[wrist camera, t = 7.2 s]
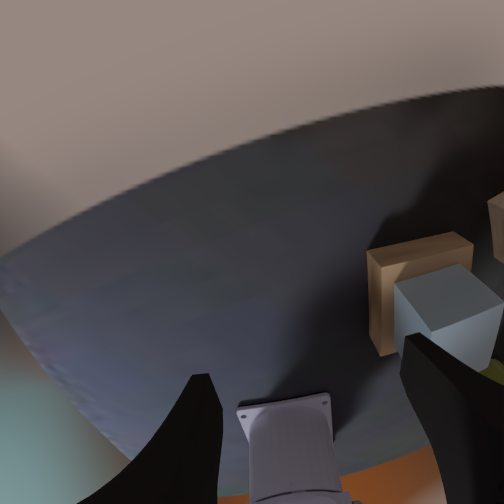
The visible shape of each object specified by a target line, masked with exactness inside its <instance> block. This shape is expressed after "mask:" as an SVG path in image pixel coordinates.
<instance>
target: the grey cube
mask: <svg viewBox="0 0 504 504" xmlns="http://www.w3.org/2000/svg"><path fill="white" fill-rule="evenodd" d="M503 308H504V301H503V300H502V299H501V298H499V297H498V296H497V295H496V294H495V293H494V292H493V291H492V290H491V289H489V288H488V287H487V286H486V285H485V284H484V283H483V282H481V281H480V280H479V279H478V278H477V277H476V276H474V275H473V274H472V273H471V272H470V271H468V270H467V269H466V268H465V267H464V266H462V265H461V264H460V263H459V264H456V265H452V266H449V267H446V268H443V269H440V270H436V271H433V272H430V273H427V274H423V275H420V276H417V277H413V278H410V279H406V280H403V281H399V282H396V283H394V346H395V348H396V350H397V352H398V353H399V355H400V357H401V359H402V356H403V348H404V340H405V336H407V335H411V334H414V333H418V332H420V333H421V334H423V335H424V336H426V337H427V338H429V339H430V340H431V341H433V342H434V343H435V344H437V345H438V346H440V347H441V348H442V349H444V350H445V351H447V352H448V353H449V354H451V355H452V356H454V357H455V358H457V359H458V360H460V361H461V362H463V363H464V364H466V365H467V366H469V367H471V368H472V369H474V370H476V371H477V372H480V371H482V370H484V369H486V368H488V365H489V362H490V359H491V355H492V352H493V349H494V345H495V341H496V338H497V334H498V330H499V326H500V322H501V317H502V313H503Z"/></svg>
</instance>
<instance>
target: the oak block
mask: <svg viewBox="0 0 504 504" xmlns="http://www.w3.org/2000/svg"><path fill="white" fill-rule="evenodd" d="M473 246H474V244H472V243H471V242H469V241H468V240H466V239H465V238H463V237H461V236H460V235H458V234H457V233H455V232H454V231H452V232H448V233H443V234H439V235H434V236H430V237H426V238H421V239H417V240H412V241H408V242H403V243H398V244H394V245H389V246H385V247H380V248H375V249H371V250H367V267H368V291H369V336H370V338H371V340H372V342H373V343H374V345H375V347H376V349H377V351H378V353H379V355H380V357H382V356H385V355H389V354H392V353H396V352H397V350H396V348H395V346H394V283H396V282H399V281H403V280H406V279H410V278H413V277H417V276H420V275H423V274H427V273H430V272H433V271H436V270H440V269H443V268H446V267H449V266H452V265H456V264H459V263H460V264H461V265H462V266H464V267H465V268H466V269H467V270H468V271H470V272H471V268H472V258H473Z"/></svg>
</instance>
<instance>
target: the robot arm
mask: <svg viewBox="0 0 504 504" xmlns="http://www.w3.org/2000/svg"><path fill="white" fill-rule="evenodd" d="M400 377H401V380H402V383H403V386H404V388H405V391H406V394H407V397H408V399H409V401H410V403H411V405H412V407H413V409H414V411H415V413H416V415H417V416H418V418H419V420H420V422H421V424H422V426H423V428H424V430H425V433H426V435H427V437H428V439H429V441H430V443H431V446H432V448H433V451H434V454H435V457H436V460H437V463H438V467H439V470H440V474H441V478H442V482H443V486H444V491H445V495H446V500H447V504H504V385H502V384H500V383H498V382H496V381H494V380H492V379H490V378H488V377H486V376H484V375H482V374H481V373H479V372H477V371H476V370H474V369H472V368H471V367H469V366H467V365H466V364H464V363H463V362H461V361H460V360H458V359H457V358H455V357H454V356H452V355H451V354H449V353H448V352H447V351H445V350H444V349H442V348H441V347H440V346H438V345H437V344H435V343H434V342H433V341H431V340H430V339H429V338H427V337H426V336H424V335H423V334H421V333H420V332H418V333H414V334H411V335H407V336H405V340H404V348H403V356H402V363H401V369H400ZM237 416H238V418H239V420H240V423H241V425H242V428H243V430H244V432H245V435H246V437H247V439H248V441H249V473H250V503H247V504H363V503H362V502H360V501H351V497H350V493H349V492H343V489H342V484H341V479H340V474H339V470H338V465H337V461H336V456H335V452H334V447H333V431H332V414H331V399H330V395H329V393H320V394H315V395H311V396H306V397H300V398H295V399H290V400H284V401H278V402H272V403H265V404H259V405H251V406H244V407H239V408H237ZM222 438H223V408H222V406H221V403H220V401H219V398H218V396H217V393H216V391H215V388H214V386H213V383H212V381H211V378H210V376H209V373H206V374H196V375H192V376H191V377H190V379H189V381H188V383H187V384H186V386H185V388H184V390H183V391H182V393H181V395H180V397H179V398H178V400H177V402H176V403H175V405H174V406H173V408H172V410H171V411H170V413H169V414H168V416H167V417H166V419H165V420H164V422H163V423H162V425H161V426H160V427H159V429H158V430H157V432H156V433H155V434H154V436H153V437H152V438H151V440H150V441H149V442H148V443H147V445H146V446H145V447H144V448H143V449H142V451H141V452H140V453H139V454H138V455H137V456H136V457H135V458H134V459H133V460H132V461H131V462H130V464H128V465H127V466H126V467H125V468H124V469H123V470H122V471H121V472H120V473H119V474H118V475H117V476H116V477H114V478H113V479H112V480H111V481H110V482H108V483H107V484H106V485H104V486H103V487H102V488H100V489H99V490H98V491H96V492H95V493H94V494H92V495H90V496H89V497H87V498H86V499H84V500H82V501H80V502H79V503H77V504H217V484H218V474H219V465H220V456H221V447H222Z"/></svg>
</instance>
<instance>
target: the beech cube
mask: <svg viewBox="0 0 504 504" xmlns="http://www.w3.org/2000/svg"><path fill="white" fill-rule="evenodd" d="M487 203H488V209H489V216H490V224H491V232H492V241H493V252H494V257H495V258H496V259H498V260H499V261H500V262H502V263H503V264H504V192H502V193H500V194H498V195H497V196H495V197H493V198H492V199H490V200H488V201H487Z"/></svg>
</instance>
